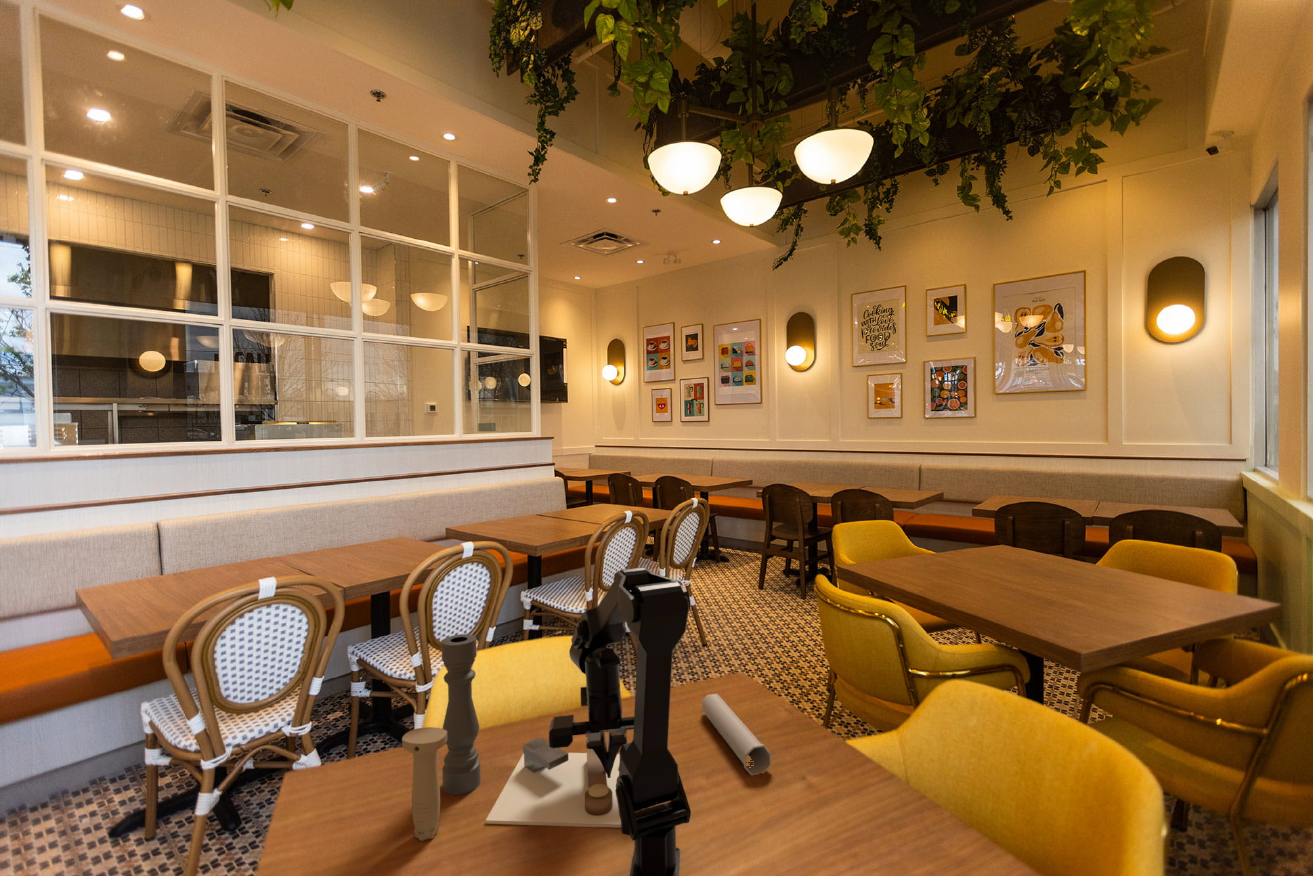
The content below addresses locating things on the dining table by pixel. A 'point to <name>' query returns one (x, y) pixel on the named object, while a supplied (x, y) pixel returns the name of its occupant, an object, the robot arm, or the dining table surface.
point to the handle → (425, 778)
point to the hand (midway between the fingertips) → (608, 776)
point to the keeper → (542, 755)
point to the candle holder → (460, 716)
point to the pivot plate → (554, 796)
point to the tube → (736, 734)
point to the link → (596, 777)
